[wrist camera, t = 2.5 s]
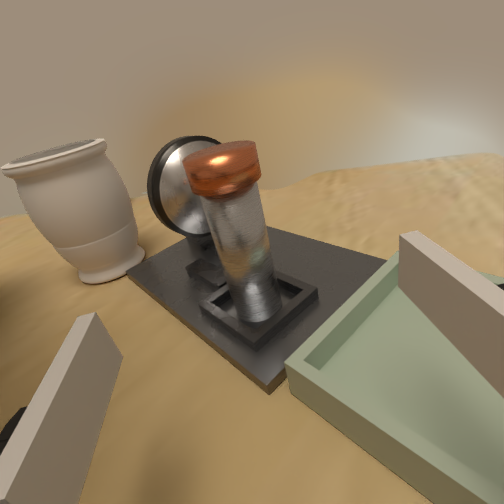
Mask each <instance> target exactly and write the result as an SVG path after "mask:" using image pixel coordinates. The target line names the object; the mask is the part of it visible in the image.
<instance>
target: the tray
mask: <svg viewBox="0 0 504 504" xmlns="http://www.w3.org/2000/svg"><path fill="white" fill-rule="evenodd" d="M398 267H399V251H397V252H396V253H395V254H394V255H393V256H392V257H391V258H390V259H389V260H388V261H387V262H386V263H385V264H383V265H382V266H381V267H380V268H379V269H378V270H377V271H376V272H375V273H374V274H373V275H372V276H371V277H370V278H369V279H368V280H367V281H366V282H365V283H364V284H363V285H362V286H361V287H360V288H359V289H358V290H357V291H356V292H355V293H354V294H353V295H352V296H351V297H350V298H349V299H348V300H347V301H346V302H345V303H344V304H343V305H342V306H341V307H340V308H339V309H338V310H337V311H336V312H335V313H334V314H333V315H331V316H330V317H329V318H328V319H327V320H326V321H325V322H324V323H323V324H322V325H321V326H320V327H319V328H318V329H317V330H316V331H315V332H314V333H313V334H312V335H311V336H310V337H309V338H308V339H307V340H306V341H305V342H304V343H303V344H302V345H301V346H300V347H299V348H298V349H297V350H296V351H295V352H294V353H293V354H292V355H291V356H290V357H289V358H288V359H287V360H286V361H285V362H284V365H285V369H286V373H287V378H288V382H289V387H290V391H291V393H292V394H293V395H294V396H295V397H297V398H298V399H299V400H301V401H302V402H303V403H304V404H306V405H307V406H308V407H310V408H311V409H312V410H314V411H315V412H316V413H317V414H319V415H320V416H321V417H323V418H324V419H325V420H326V421H328V422H329V423H330V424H332V425H333V426H334V427H336V428H337V429H338V430H339V431H341V432H342V433H343V434H345V435H346V436H347V437H349V438H350V439H351V440H352V441H354V442H355V443H356V444H358V445H359V446H360V447H361V448H363V449H364V450H365V451H367V452H368V453H369V454H371V455H372V456H373V457H374V458H376V459H377V460H378V461H380V462H381V463H382V464H383V465H385V466H386V467H387V468H389V469H390V470H391V471H393V472H394V473H395V474H396V475H398V476H399V477H400V478H402V479H403V480H404V481H406V482H407V483H408V484H409V485H411V486H412V487H413V488H415V489H416V490H417V491H418V492H420V493H421V494H422V495H424V496H425V497H426V498H428V499H429V500H430V501H431V502H433V503H434V504H504V398H503V397H502V396H501V395H500V394H499V393H498V392H497V391H496V390H495V389H494V388H493V387H492V386H491V385H490V383H489V382H488V381H487V380H486V379H485V378H484V377H483V376H482V375H481V374H480V373H479V372H478V371H477V370H476V369H475V368H474V367H473V365H472V364H471V363H470V362H469V361H468V360H467V359H466V358H465V357H464V356H463V355H462V354H461V353H460V352H459V351H458V350H457V349H456V347H455V346H454V345H453V344H452V343H451V342H450V341H449V340H448V339H447V338H446V337H445V336H444V335H443V334H442V333H441V332H440V331H439V329H438V328H437V327H436V326H435V325H434V324H433V323H432V322H431V321H430V320H429V319H428V318H427V317H426V316H425V315H424V314H423V313H422V311H421V310H420V309H419V308H418V307H417V306H416V305H415V304H414V303H413V302H412V301H411V300H410V299H409V298H408V297H407V296H406V295H405V293H404V292H403V291H402V290H401V289H400V288H399V287H398ZM476 272H478V273H479V274H481V275H482V276H484V277H485V278H486V279H488V280H489V281H491V282H492V283H494V284H495V285H499V284H503V283H504V278H502V277H498V276H494V275H491V274H487V273H483V272H479V271H476Z"/></svg>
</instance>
